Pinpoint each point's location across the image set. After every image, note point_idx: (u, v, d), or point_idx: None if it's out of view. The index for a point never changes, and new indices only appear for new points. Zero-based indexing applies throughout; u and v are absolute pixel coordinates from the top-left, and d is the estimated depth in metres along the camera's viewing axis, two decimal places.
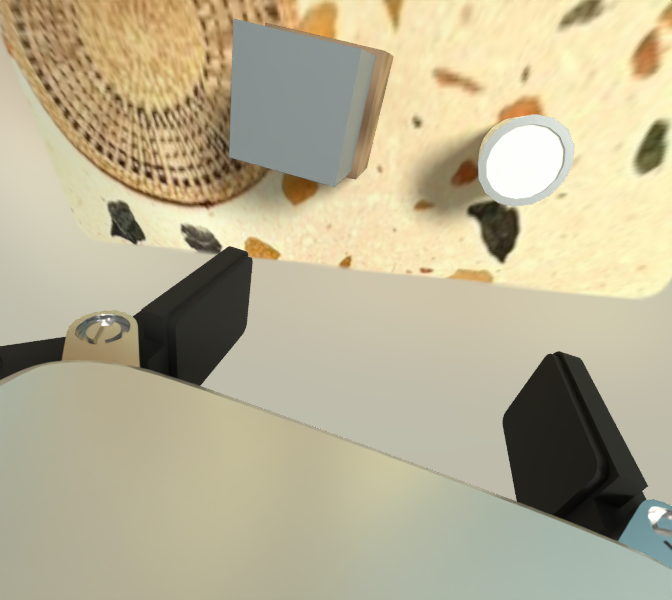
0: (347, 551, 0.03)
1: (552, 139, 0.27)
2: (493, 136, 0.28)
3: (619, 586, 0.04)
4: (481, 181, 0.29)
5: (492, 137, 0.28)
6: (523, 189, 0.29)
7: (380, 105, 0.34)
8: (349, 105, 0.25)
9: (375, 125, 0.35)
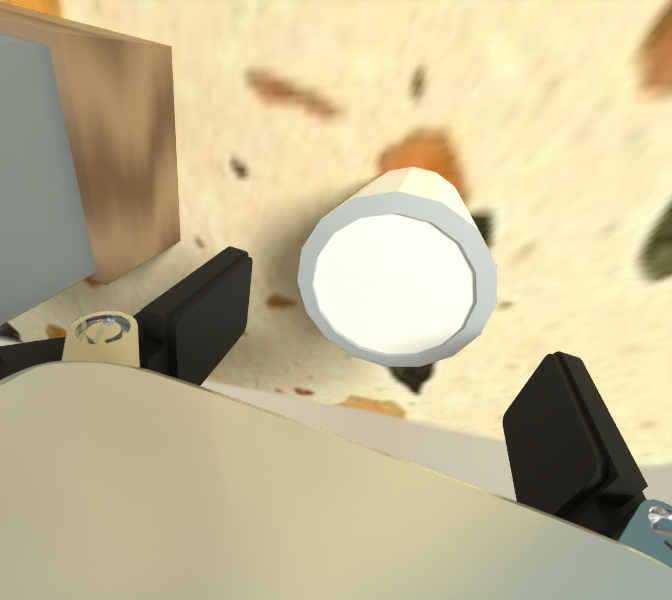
0: (347, 551, 0.03)
1: (444, 248, 0.11)
2: (315, 233, 0.12)
3: (619, 586, 0.04)
4: (312, 316, 0.14)
5: (313, 234, 0.12)
6: (398, 339, 0.13)
7: (165, 140, 0.18)
8: None
9: (165, 175, 0.19)
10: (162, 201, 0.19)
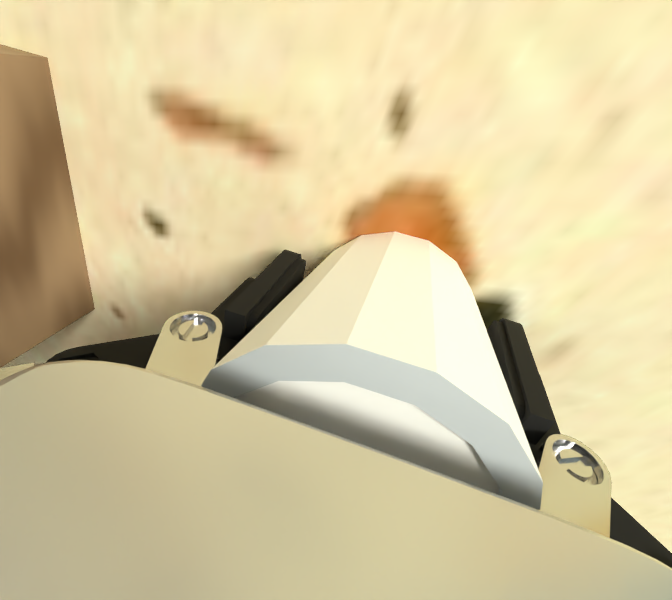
0: (347, 551, 0.03)
1: (441, 444, 0.06)
2: None
3: (619, 586, 0.04)
4: None
5: None
6: None
7: (50, 187, 0.13)
8: None
9: (56, 233, 0.14)
10: (55, 266, 0.14)
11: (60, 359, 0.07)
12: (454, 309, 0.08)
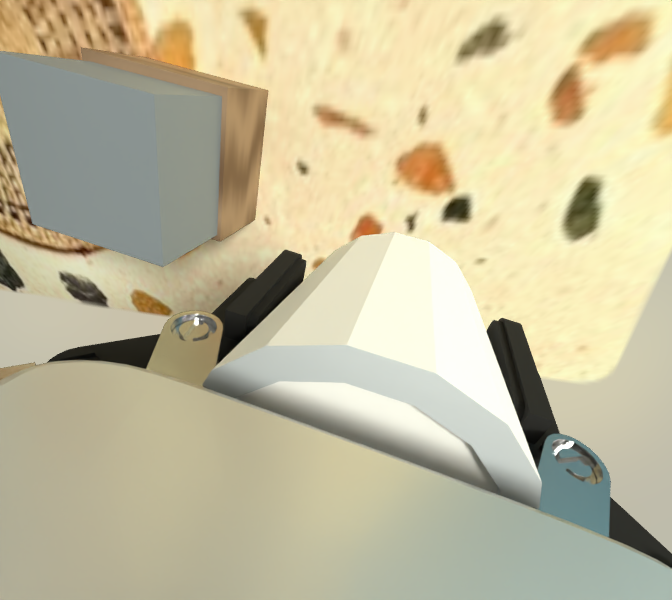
0: (347, 551, 0.03)
1: (440, 444, 0.06)
2: None
3: (619, 585, 0.04)
4: None
5: None
6: None
7: (257, 149, 0.27)
8: (156, 167, 0.18)
9: (254, 172, 0.28)
10: (250, 190, 0.28)
11: (61, 359, 0.07)
12: (454, 310, 0.08)
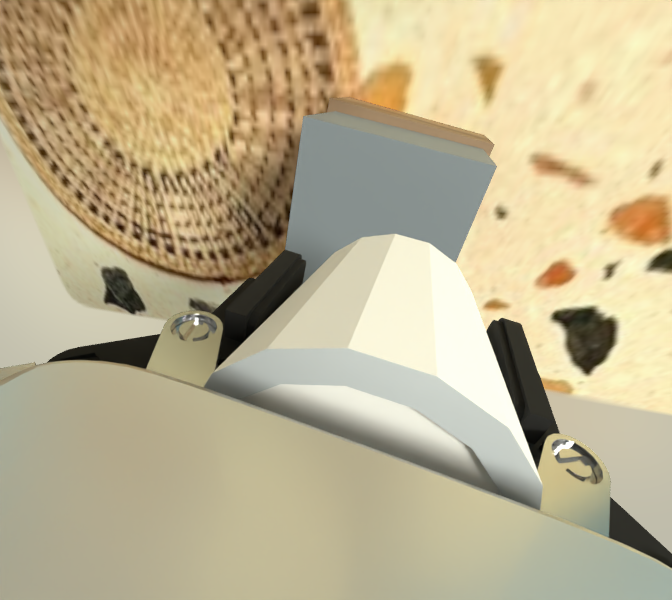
0: (347, 551, 0.03)
1: (441, 447, 0.06)
2: None
3: (619, 585, 0.04)
4: None
5: None
6: None
7: None
8: (465, 235, 0.17)
9: None
10: None
11: (61, 359, 0.07)
12: (454, 312, 0.08)
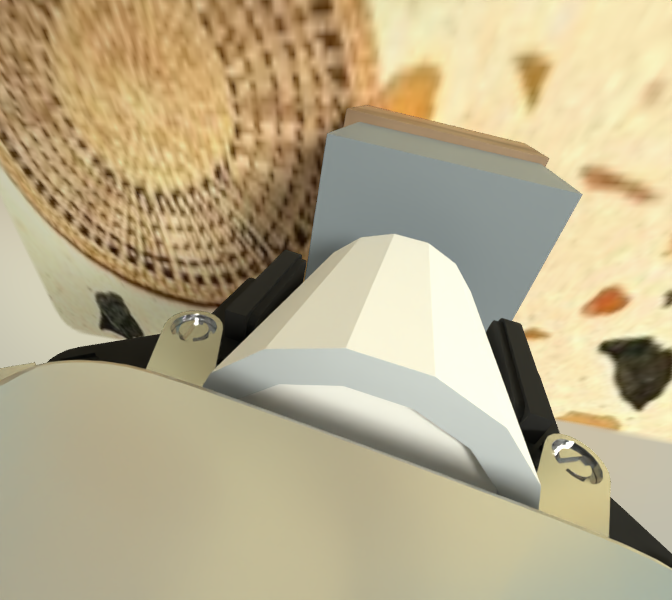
0: (347, 551, 0.03)
1: (439, 447, 0.06)
2: None
3: (619, 586, 0.04)
4: None
5: None
6: None
7: None
8: (533, 277, 0.14)
9: None
10: None
11: (61, 359, 0.07)
12: (453, 312, 0.08)
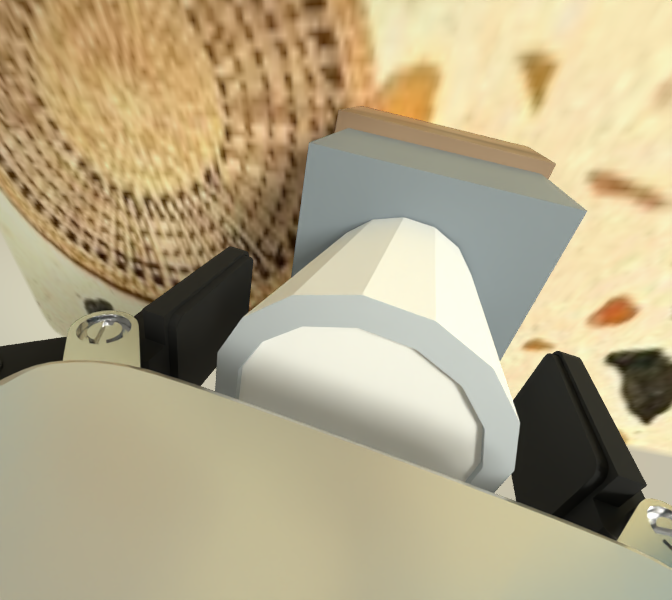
0: (347, 551, 0.03)
1: (436, 387, 0.07)
2: (235, 335, 0.08)
3: (619, 586, 0.04)
4: None
5: (234, 337, 0.08)
6: None
7: None
8: (533, 299, 0.13)
9: None
10: None
11: None
12: (454, 282, 0.09)
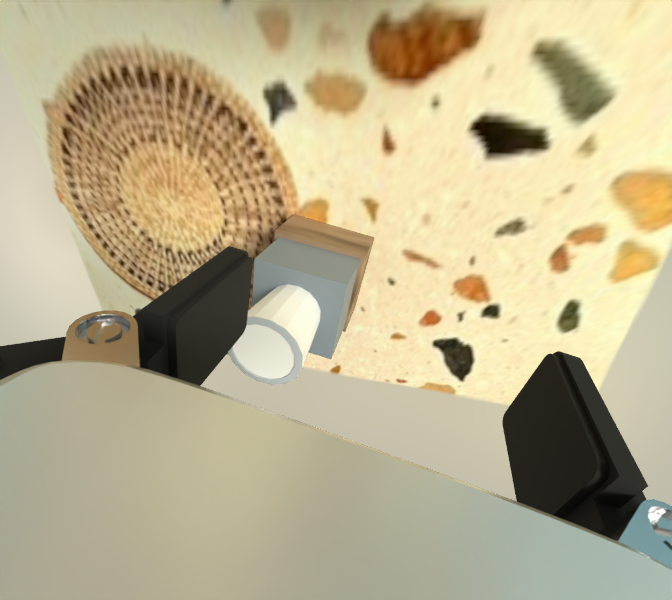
0: (347, 551, 0.03)
1: (276, 335, 0.28)
2: None
3: (619, 585, 0.04)
4: (236, 364, 0.30)
5: None
6: (272, 372, 0.30)
7: (364, 270, 0.43)
8: (340, 314, 0.34)
9: (361, 283, 0.44)
10: (358, 293, 0.44)
11: None
12: (289, 308, 0.30)
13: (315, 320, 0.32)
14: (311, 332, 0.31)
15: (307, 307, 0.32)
